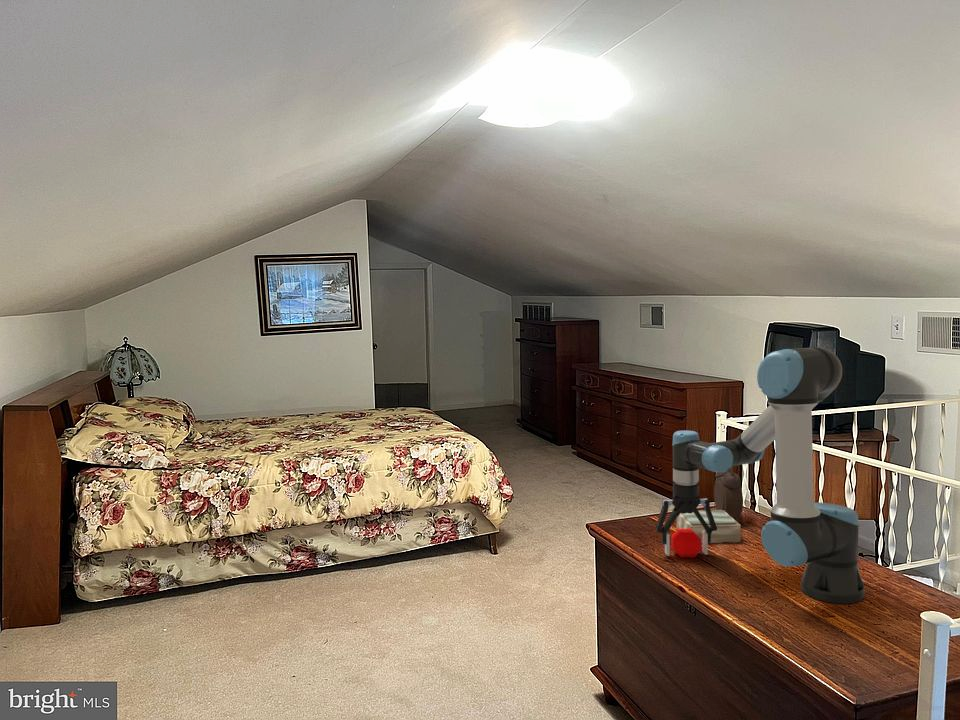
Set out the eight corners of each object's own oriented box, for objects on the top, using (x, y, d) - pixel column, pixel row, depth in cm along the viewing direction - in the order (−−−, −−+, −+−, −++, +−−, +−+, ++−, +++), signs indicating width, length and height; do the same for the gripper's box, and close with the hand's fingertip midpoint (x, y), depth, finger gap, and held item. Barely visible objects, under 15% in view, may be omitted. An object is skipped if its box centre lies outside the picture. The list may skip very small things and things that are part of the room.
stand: (740, 542, 234) (740, 523, 233) (689, 543, 234) (689, 525, 233) (723, 526, 250) (723, 508, 249) (676, 527, 250) (676, 510, 249)
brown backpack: (746, 526, 249) (746, 467, 247) (724, 526, 249) (724, 468, 248) (732, 513, 264) (732, 458, 262) (712, 513, 264) (712, 458, 262)
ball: (695, 550, 228) (695, 526, 227) (703, 559, 220) (703, 534, 219) (669, 551, 228) (669, 526, 227) (676, 560, 220) (676, 535, 219)
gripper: (720, 478, 225) (720, 548, 227) (644, 480, 225) (645, 550, 227) (728, 484, 218) (728, 556, 220) (649, 486, 218) (650, 559, 220)
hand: (686, 553), depth 224 cm, fingers open, 11 cm apart
